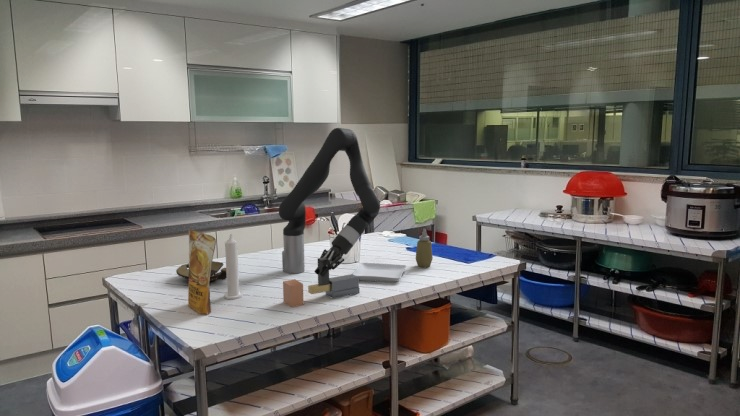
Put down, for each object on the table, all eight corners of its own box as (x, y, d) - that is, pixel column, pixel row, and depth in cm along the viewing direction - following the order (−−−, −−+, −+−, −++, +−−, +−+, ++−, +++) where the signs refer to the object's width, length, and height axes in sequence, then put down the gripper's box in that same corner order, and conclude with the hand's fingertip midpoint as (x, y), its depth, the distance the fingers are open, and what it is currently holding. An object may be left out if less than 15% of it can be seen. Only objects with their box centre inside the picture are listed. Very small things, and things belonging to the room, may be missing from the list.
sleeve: (351, 289, 215) (351, 273, 214) (359, 293, 210) (359, 277, 209) (325, 294, 209) (325, 278, 208) (332, 298, 204) (332, 282, 203)
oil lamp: (218, 269, 247) (218, 253, 246) (244, 284, 223) (244, 266, 222) (169, 277, 234) (168, 260, 233) (191, 294, 210) (190, 275, 209)
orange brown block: (295, 299, 202) (295, 279, 201) (303, 304, 197) (303, 283, 195) (283, 301, 200) (282, 281, 199) (291, 307, 194) (290, 286, 193)
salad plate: (400, 285, 222) (400, 277, 221) (350, 282, 226) (350, 274, 225) (406, 271, 242) (406, 264, 242) (361, 269, 246) (361, 262, 246)
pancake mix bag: (200, 299, 202) (196, 228, 198) (221, 313, 188) (217, 235, 184) (183, 303, 198) (178, 230, 194) (202, 317, 184) (198, 238, 179)
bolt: (353, 283, 213) (353, 253, 211) (357, 285, 211) (357, 254, 209) (308, 292, 203) (307, 260, 201) (311, 294, 200) (311, 261, 198)
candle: (233, 300, 202) (230, 236, 198) (220, 297, 205) (217, 234, 202) (246, 295, 208) (244, 233, 204) (233, 292, 211) (231, 231, 207)
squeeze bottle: (413, 267, 248) (413, 229, 246) (418, 263, 256) (418, 226, 253) (429, 269, 245) (430, 230, 243) (434, 264, 253) (435, 227, 250)
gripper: (331, 230, 211) (304, 264, 206) (349, 236, 199) (320, 273, 195) (343, 242, 215) (316, 276, 210) (361, 248, 203) (333, 284, 198)
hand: (318, 274), depth 202 cm, fingers closed on bolt, 3 cm apart
